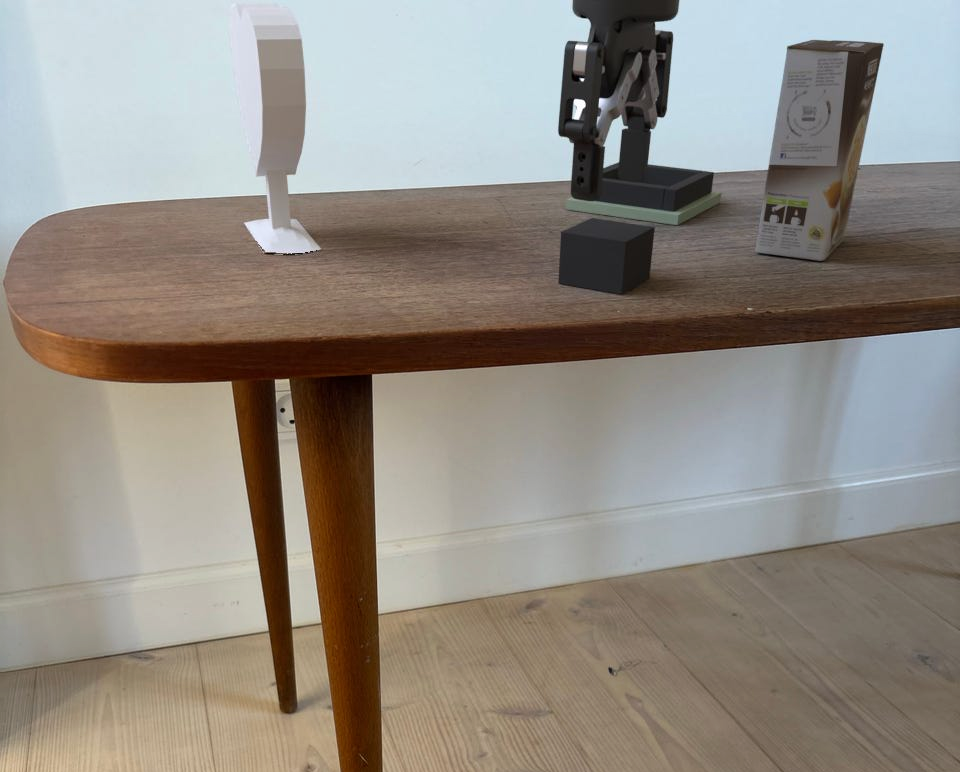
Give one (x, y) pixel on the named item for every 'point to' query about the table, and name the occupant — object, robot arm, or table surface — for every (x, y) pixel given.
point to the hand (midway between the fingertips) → (609, 189)
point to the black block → (605, 255)
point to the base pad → (653, 195)
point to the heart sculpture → (271, 113)
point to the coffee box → (817, 146)
